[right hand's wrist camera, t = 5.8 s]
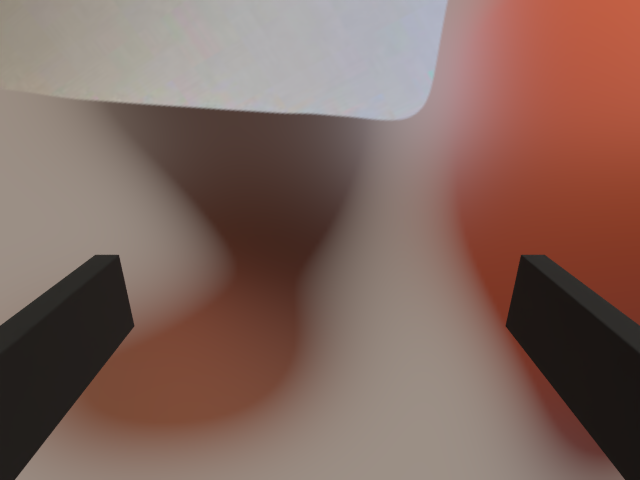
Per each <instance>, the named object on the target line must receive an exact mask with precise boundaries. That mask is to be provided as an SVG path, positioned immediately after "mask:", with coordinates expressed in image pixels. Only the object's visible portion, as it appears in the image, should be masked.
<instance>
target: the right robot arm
mask: <svg viewBox="0 0 640 480" xmlns="http://www.w3.org/2000/svg"><path fill="white" fill-rule="evenodd" d="M133 327H134V323H133V318H132V313H131V309H130V304H129V299H128V295H127V290H126V285H125V281H124V276H123V272H122V267H121V263H120V258H119V255H95V256H93V257H92V258H91V259H89V260H88V261H87V262H85V263H84V264H83V265H81V266H80V267H78V268H77V269H76V270H74V271H73V272H72V273H70V274H69V275H68V276H66V277H65V278H64V279H62V280H61V281H60V282H58V283H57V284H56V285H54V286H53V287H52V288H50V289H49V290H48V291H46V292H45V293H44V294H42V295H41V296H40V297H38V298H37V299H36V300H34V301H33V302H32V303H30V304H29V305H27V306H26V307H25V308H23V309H22V310H21V311H20V312H18V313H17V314H15V315H14V316H13V317H11V318H10V319H9V320H7V321H6V322H5V323H3V324H2V325H1V326H0V480H15V479H16V477H17V476H18V475H19V474H20V472H21V471H22V470H23V469H24V467H25V466H26V465H27V463H28V462H29V461H30V460H31V458H32V457H33V456H34V454H35V453H36V452H37V451H38V449H39V448H40V447H41V445H42V444H43V443H44V442H45V440H46V439H47V438H48V436H49V435H50V434H51V433H52V431H53V430H54V429H55V427H56V426H57V425H58V424H59V422H60V421H61V420H62V418H63V417H64V416H65V415H66V413H67V412H68V411H69V409H70V408H71V407H72V406H73V404H74V403H75V402H76V400H77V399H78V398H79V397H80V395H81V394H82V393H83V391H84V390H85V389H86V387H87V386H88V385H89V384H90V382H91V381H92V380H93V379H94V377H95V376H96V375H97V373H98V372H99V371H100V370H101V368H102V367H103V366H104V364H105V363H106V362H107V361H108V359H109V358H110V357H111V355H112V354H113V353H114V352H115V350H116V349H117V348H118V346H119V345H120V344H121V343H122V341H123V340H124V339H125V337H126V336H127V335H128V334H129V332H130V331H131V330H132V328H133ZM506 327H507V328H508V330H509V331H510V332H511V334H512V335H513V336H514V337H515V339H516V340H517V341H518V343H519V344H520V345H521V346H522V348H523V349H524V350H525V352H526V353H527V354H528V355H529V357H530V358H531V359H532V361H533V362H534V363H535V364H536V366H537V367H538V368H539V370H540V371H541V372H542V373H543V375H544V376H545V377H546V379H547V380H548V381H549V382H550V384H551V385H552V386H553V388H554V389H555V390H556V391H557V393H558V394H559V395H560V397H561V398H562V399H563V400H564V402H565V403H566V404H567V406H568V407H569V408H570V409H571V411H572V412H573V413H574V415H575V416H576V417H577V418H578V420H579V421H580V422H581V424H582V425H583V426H584V427H585V429H586V430H587V431H588V433H589V434H590V435H591V436H592V438H593V439H594V440H595V442H596V443H597V444H598V445H599V447H600V448H601V449H602V451H603V452H604V453H605V454H606V456H607V457H608V458H609V460H610V461H611V462H612V463H613V465H614V466H615V467H616V468H617V470H618V471H619V472H620V474H621V475H622V476H623V478H624V479H625V480H640V326H639V325H638V324H637V323H635V322H634V321H633V320H631V319H630V318H629V317H627V316H626V315H625V314H623V313H622V312H620V311H619V310H618V309H617V308H615V307H614V306H612V305H611V304H610V303H609V302H607V301H606V300H604V299H603V298H602V297H600V296H599V295H598V294H596V293H595V292H594V291H592V290H591V289H590V288H588V287H587V286H586V285H584V284H583V283H582V282H580V281H579V280H578V279H576V278H575V277H574V276H572V275H571V274H570V273H568V272H567V271H566V270H564V269H563V268H562V267H560V266H559V265H558V264H556V263H555V262H553V261H552V260H551V259H549V258H548V257H547V256H545V255H521V258H520V262H519V267H518V272H517V276H516V281H515V285H514V290H513V295H512V299H511V304H510V308H509V313H508V318H507V322H506Z"/></svg>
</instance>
